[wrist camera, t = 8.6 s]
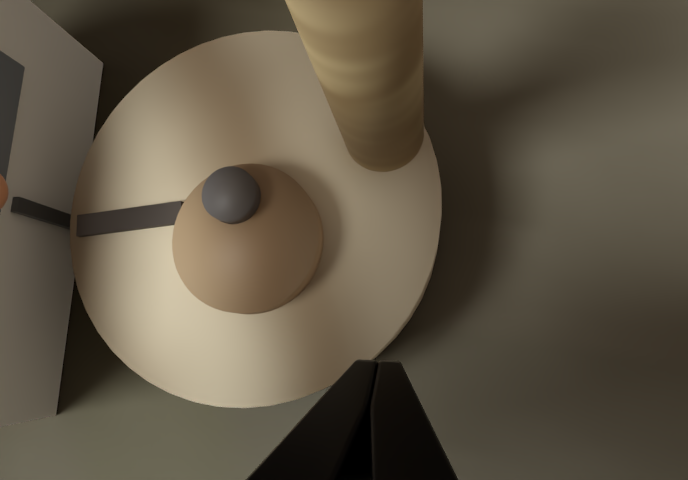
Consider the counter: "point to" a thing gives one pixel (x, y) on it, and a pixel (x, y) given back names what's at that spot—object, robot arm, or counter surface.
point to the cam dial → (264, 207)
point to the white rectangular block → (38, 199)
